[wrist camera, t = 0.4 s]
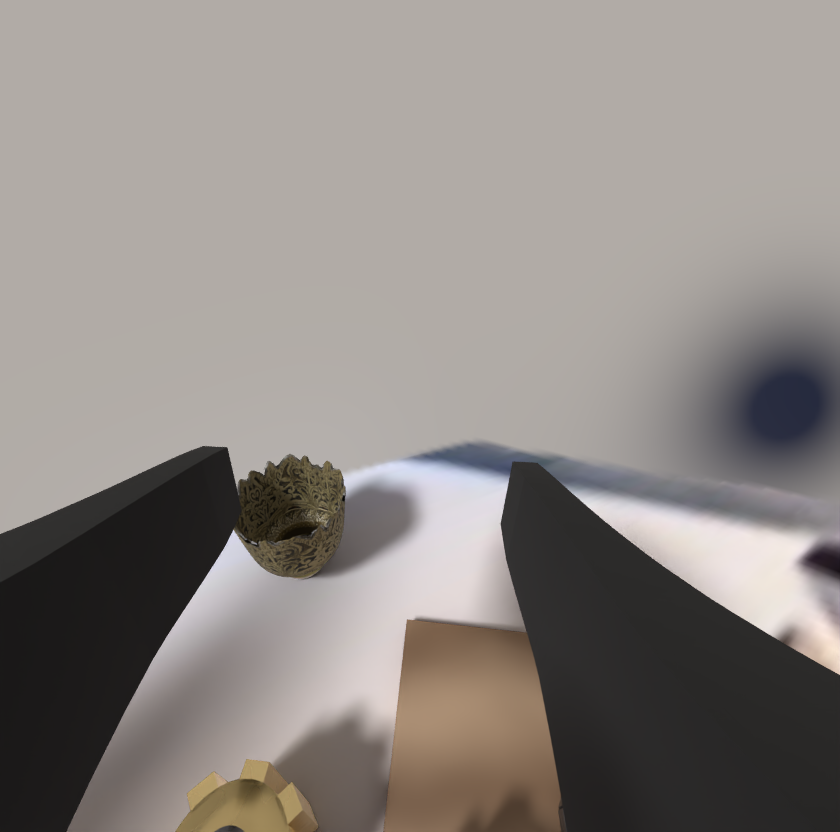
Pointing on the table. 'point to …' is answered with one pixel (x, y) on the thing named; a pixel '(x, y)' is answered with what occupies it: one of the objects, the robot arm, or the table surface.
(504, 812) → the carrier plate
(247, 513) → the cup
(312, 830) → the planet gear
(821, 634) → the table surface
